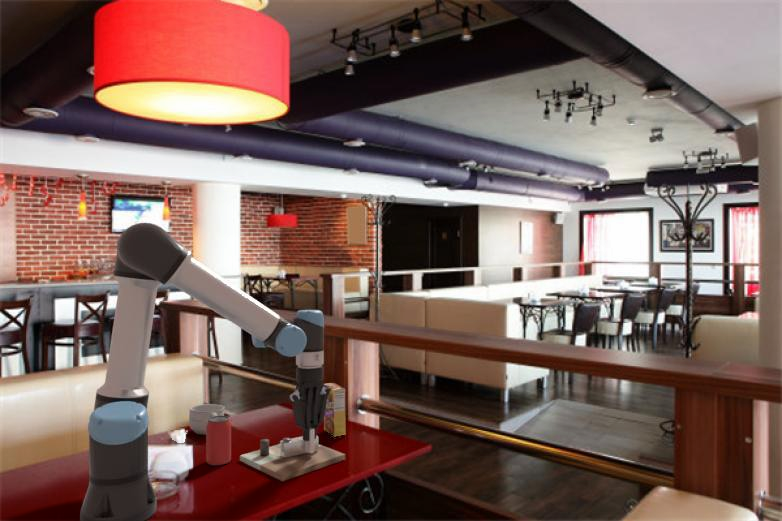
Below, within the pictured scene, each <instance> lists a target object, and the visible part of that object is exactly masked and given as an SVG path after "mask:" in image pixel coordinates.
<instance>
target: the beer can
mask: <svg viewBox="0 0 782 521" xmlns="http://www.w3.org/2000/svg"><path fill="white" fill-rule="evenodd" d="M205 439H206V440H205V441H206V442H205V446H206V447H205V449H206V450H205V451H206V453H205V458H206V460H205V461H206V463H207V464H208V465H209V466H224V465H225V464H229V463H230V461H231V460H232V423H231V421H230V416H227V415H224V416H214V417H211V418H209V419H208V423H207V426H206V434H205Z"/></svg>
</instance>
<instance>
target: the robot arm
mask: <svg viewBox="0 0 782 521" xmlns="http://www.w3.org/2000/svg"><path fill="white" fill-rule="evenodd" d="M115 256H116V257H115V262H114V271H113V278H114V279H115V281H117V283H118V290H117V291H118V292H117V296H116V297H117V298H116V304H115V312H114V318H113V319H114V320H113V325H112V331H111V332H112V333H111V339H110V346H109V353H108V360H107V365H106V366H107V367H106V373H105V380H104V383H103V384H102V385H101V386H100V387H99V388H97V389H96V393H95V399H94V406H93V407H94V408H93V411H92V412H91V413H90V416H89V421H88V424H87V430H88V431H87V432H88V434H89V436H88V440H89V442H88V447H89V448H88V449H89V450H88V451H89V452H88V458H89V460H88V464H89V465H88V466H89V467H88V470H89V471H88V472H89V473H88V474H89V476H88V477H89V478H88V480H89V482H88V487H87V491H86V493H85V497H84V499H83V502H82V505H81V508H80V514H79V521H146V520H148V519H150V517H152V516H153V515H154V514H155V513H156V512H157V510H158V509H157V508H158V506H157V503H158V501H157V494H156V493H155V490H154V488H153V484H152V482H151V479H150V477H149V424H150V418H149V417H150V416H149V413H148V404H149V396H150V391H149V390H148V388H147V387H146V386H145V377H146V371H147V364H148V363H147V362H148V357H149V349H150V342H151V335H152V329H153V323H154V322H153V320H154V315H155V314H154V313H155V307H156V301H157V293H158V288H159V287H160V286H162V285H164V286H171V285H172V286H173V287H175V288H177V289H178V290H180V291H182V292H183V293H185V294H186V295H188V296H189V297H191V298H193V300H196V301H198V302H199V303H201V304H202V305H204V306H205V307H206V308H209V309H211V310H212V311H214V313H217V314H218V315H219V316H221V317H223V318H224V319H226V320H227V321H229V322H231V323H232V324H234V325H236V326H237V327H238V328H240V329H242V330H244V331H245V332H247V333H248V334H250V335H251V341H252V344H253V346H254V347H255V348H263V349H265V348H271V349H272V350H275V352H276V351H277V352H278V353H279V354H280V355H282V356H285V357H290V358H291V357H293V358H294V357H295V366H297V367H296V368H295V373H296V374H295V376H296V377H295V379H296V386H295V390H294V391H293V393H289V394H288V400H290V402H291V408H292V411H293V416H294V421H295V425H296V427H297V428H300V429H302V436H303V440H304V441H305V452H308V453H314V439H316V435H317V429H319V428H320V425H322V424H323V423H324V412H325V407H326V402H327V397H328V395H329V393H330V389H328V388H325V387H324V382H323V380H324V372H325V371H324V362H325V359H324V358H325V356H324V351H325V349H324V346H325V345H324V343H325V342H324V341H325V340H324V339H325V337H324V336H325V335H324V334H325V319H324V313H323V311H321V310H319V309H302V310H301V309H300V310H297V312H296V315H295V317H291V318H290V317H288V318H287V317H286V318H284V317H282V316H280V315H279V314H278V313H277V312H275V311H274V310H272V309H270V308H269V307H268V306H266V305H264V304H263V303H261V302H260V301H258V300H257V299H256V298H254V297H253V296H251V295H250V294H248V293H246V292H245V291H243V290H242V289H240V288H239V287H237V286H236V285H235V284H233V283H232V282H230V281H228V280H227V279H226V278H224V277H222V276H221V275H220V274H218V273H217V272H215V271H213V270H212V269H210V268H209V267H207V266H206V265H204V264H203V263H201V262H200V261H198V260H197V259H195V258H194V257H193V256H192V252H191V250H190V249H189V248H186V247H185V246H184V245H182V244H181V243H180V242H179V241H177V240H176V239H175V238H174V237H173V236H172V235H171V234H170V233H168V232H167V231H166V230H165V229H164V228H162V227H161V226H159V225H157V224H154V223H150V222H139V223H134V224H133V225H131V226H129V227H127V228H126V229H125V230H124V231H123V232H122V234H120V236H119V237H118V240H117V243H116V255H115Z"/></svg>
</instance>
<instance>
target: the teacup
mask: <svg viewBox="0 0 782 521" xmlns="http://www.w3.org/2000/svg"><path fill="white" fill-rule="evenodd" d="M188 410H189V414H188V417H189V418H188V421H189V422H188V423H189V428H190V429H191V430H192V431H193V432H194V433H195V434H197V435H206V426H207V423H208V419H209V418H211V417H214V416H225V406H224V405H221V404H216V403H213V404H212V403H207V404H206V403H205V404H197V405H193V406H191V407H189V409H188Z"/></svg>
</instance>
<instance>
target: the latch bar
mask: <svg viewBox="0 0 782 521" xmlns="http://www.w3.org/2000/svg"><path fill="white" fill-rule="evenodd" d="M279 444H280V455H281V456H282V457H283V458H289V457H291V456H296V455H301V454H305V453H308V452H305V441H304V440H303V435H302V436H298V437H297V436H296V437H293V438H290V437H283V438H282V440H280V441H279ZM318 444H319V436H318V435H317V434H316V439H314V451H318Z"/></svg>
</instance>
